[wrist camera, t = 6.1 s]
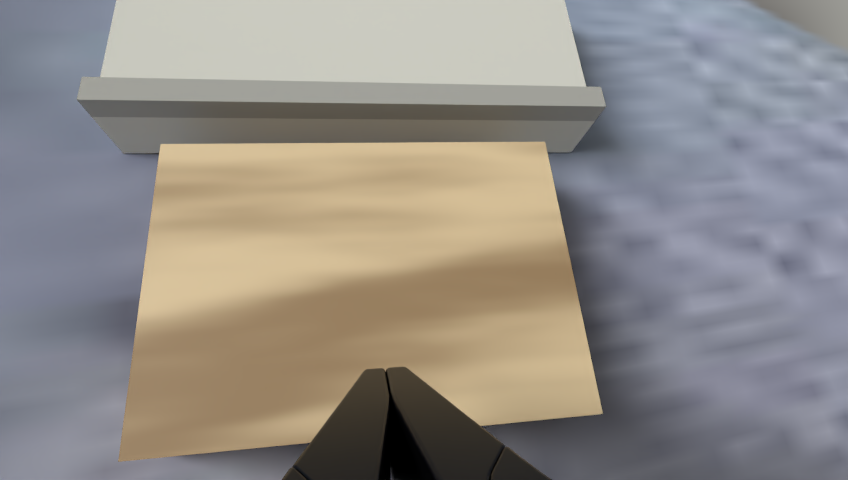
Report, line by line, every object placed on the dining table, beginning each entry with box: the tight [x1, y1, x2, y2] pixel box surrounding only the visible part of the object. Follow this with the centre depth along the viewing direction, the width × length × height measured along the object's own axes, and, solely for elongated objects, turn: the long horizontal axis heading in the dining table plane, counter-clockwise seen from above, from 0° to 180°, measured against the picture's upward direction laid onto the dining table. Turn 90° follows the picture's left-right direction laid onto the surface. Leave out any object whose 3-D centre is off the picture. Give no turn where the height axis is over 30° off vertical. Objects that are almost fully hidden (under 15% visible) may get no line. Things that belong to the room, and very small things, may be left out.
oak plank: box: [118, 142, 603, 462], centre depth 17 cm, size 4×14×10 cm
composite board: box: [77, 0, 606, 153], centre depth 21 cm, size 8×20×4 cm, turn 95°
